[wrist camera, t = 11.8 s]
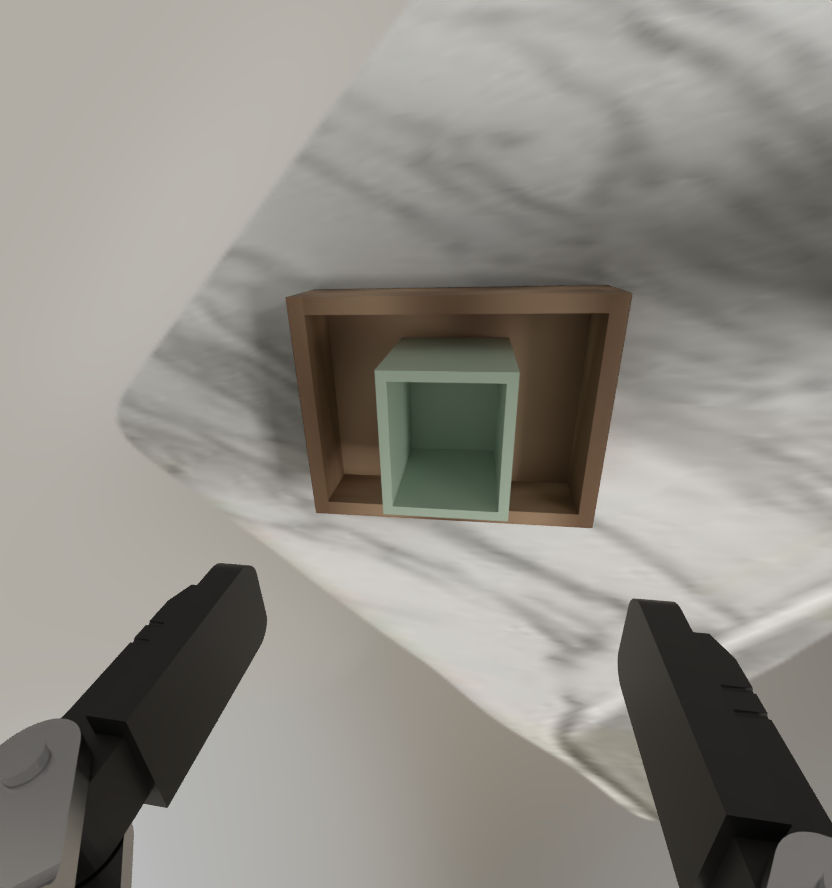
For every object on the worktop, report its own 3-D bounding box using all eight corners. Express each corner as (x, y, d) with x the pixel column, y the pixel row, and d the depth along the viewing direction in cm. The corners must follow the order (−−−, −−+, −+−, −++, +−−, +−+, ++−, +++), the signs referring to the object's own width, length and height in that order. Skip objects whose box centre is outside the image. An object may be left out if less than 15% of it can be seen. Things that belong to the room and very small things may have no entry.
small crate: (509, 337, 20) (519, 372, 15) (501, 455, 23) (507, 521, 17) (401, 337, 21) (374, 370, 15) (405, 451, 23) (383, 514, 18)
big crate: (607, 285, 19) (632, 293, 16) (577, 489, 23) (592, 528, 20) (315, 289, 21) (285, 297, 18) (336, 479, 25) (316, 512, 22)
